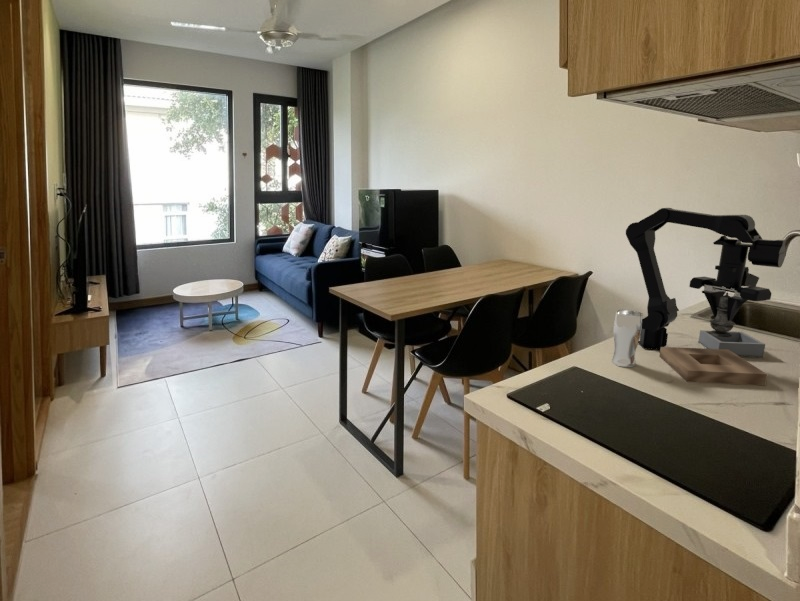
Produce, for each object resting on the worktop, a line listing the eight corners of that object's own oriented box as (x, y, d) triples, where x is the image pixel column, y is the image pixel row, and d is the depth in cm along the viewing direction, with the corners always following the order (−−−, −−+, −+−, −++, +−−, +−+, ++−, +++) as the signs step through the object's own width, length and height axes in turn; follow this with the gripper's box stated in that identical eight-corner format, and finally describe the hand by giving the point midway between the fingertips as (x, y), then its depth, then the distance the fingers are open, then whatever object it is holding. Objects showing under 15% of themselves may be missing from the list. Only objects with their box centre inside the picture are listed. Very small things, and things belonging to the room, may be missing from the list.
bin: (717, 355, 134) (719, 342, 133) (698, 342, 146) (700, 330, 145) (762, 357, 132) (765, 344, 131) (739, 343, 144) (741, 331, 143)
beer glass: (631, 370, 124) (637, 317, 121) (605, 363, 129) (611, 312, 126) (641, 363, 129) (647, 312, 125) (615, 357, 134) (621, 307, 130)
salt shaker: (720, 338, 124) (727, 295, 121) (702, 331, 129) (709, 290, 126) (738, 336, 125) (746, 294, 122) (720, 330, 130) (727, 289, 127)
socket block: (686, 381, 117) (688, 370, 116) (659, 356, 134) (660, 346, 133) (765, 385, 114) (767, 374, 113) (726, 359, 131) (728, 349, 130)
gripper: (791, 266, 116) (779, 325, 120) (720, 256, 133) (712, 307, 137) (761, 269, 113) (749, 329, 116) (692, 258, 130) (684, 311, 134)
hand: (722, 318), depth 126 cm, fingers closed on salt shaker, 3 cm apart
